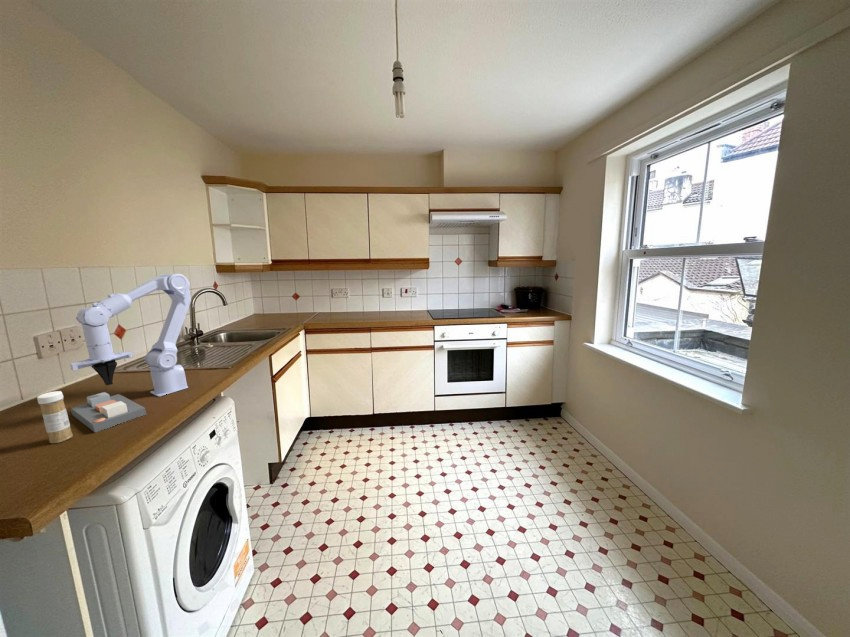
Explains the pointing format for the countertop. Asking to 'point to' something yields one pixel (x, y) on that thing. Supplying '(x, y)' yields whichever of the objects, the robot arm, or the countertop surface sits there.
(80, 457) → the countertop surface
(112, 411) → the off-white button
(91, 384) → the countertop surface
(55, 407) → the spice jar
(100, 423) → the console
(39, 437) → the countertop surface
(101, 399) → the grey button
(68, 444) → the countertop surface
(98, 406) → the terracotta button
